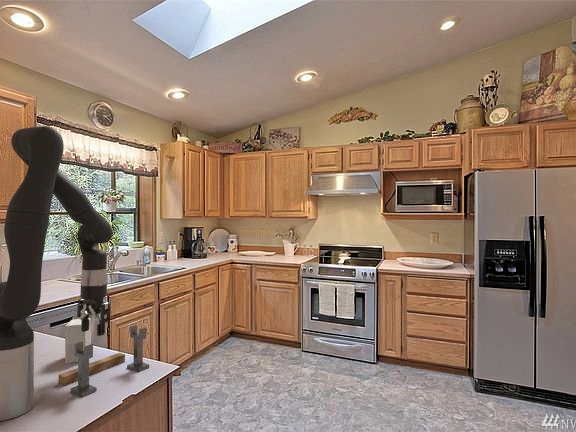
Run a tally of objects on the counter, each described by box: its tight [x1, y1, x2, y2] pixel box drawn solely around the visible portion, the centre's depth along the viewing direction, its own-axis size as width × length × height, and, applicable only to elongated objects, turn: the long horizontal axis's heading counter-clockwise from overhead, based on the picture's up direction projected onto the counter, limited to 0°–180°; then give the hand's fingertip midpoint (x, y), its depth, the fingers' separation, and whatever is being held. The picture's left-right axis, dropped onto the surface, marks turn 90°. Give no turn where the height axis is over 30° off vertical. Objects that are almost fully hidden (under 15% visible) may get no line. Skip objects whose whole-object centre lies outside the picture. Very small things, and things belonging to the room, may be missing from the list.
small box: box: [64, 317, 92, 364], centre depth 123 cm, size 8×6×13 cm
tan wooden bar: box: [57, 352, 126, 387], centre depth 111 cm, size 20×3×3 cm, turn 150°
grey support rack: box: [70, 324, 150, 398], centre depth 107 cm, size 22×6×14 cm, turn 151°
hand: (92, 333), depth 111 cm, fingers open, 8 cm apart
